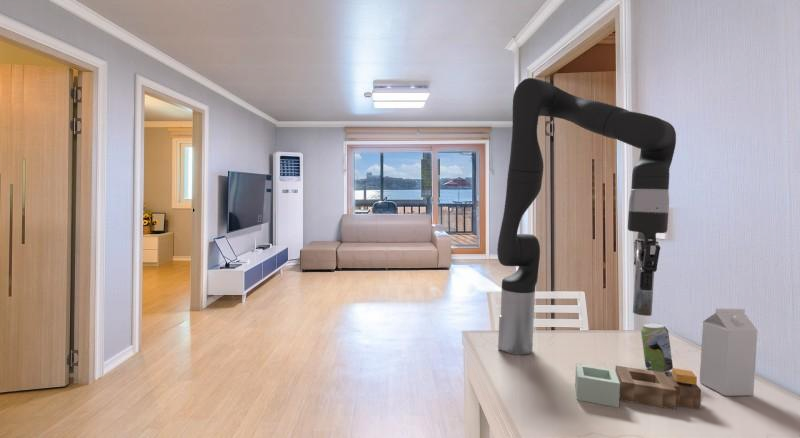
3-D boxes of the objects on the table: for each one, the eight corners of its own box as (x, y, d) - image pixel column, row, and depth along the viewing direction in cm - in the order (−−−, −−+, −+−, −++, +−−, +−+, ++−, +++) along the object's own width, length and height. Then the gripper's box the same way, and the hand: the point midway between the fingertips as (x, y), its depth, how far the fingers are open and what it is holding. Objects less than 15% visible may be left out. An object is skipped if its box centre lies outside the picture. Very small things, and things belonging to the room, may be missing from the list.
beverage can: (676, 376, 103) (679, 329, 102) (644, 373, 104) (647, 326, 104) (666, 367, 109) (668, 322, 109) (635, 364, 110) (637, 319, 110)
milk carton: (699, 382, 100) (703, 304, 99) (726, 382, 100) (731, 305, 100) (724, 396, 93) (729, 312, 92) (753, 396, 93) (759, 312, 93)
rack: (576, 399, 88) (577, 376, 88) (575, 384, 96) (576, 363, 96) (618, 407, 86) (619, 383, 85) (613, 391, 93) (614, 369, 93)
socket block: (621, 400, 89) (622, 381, 89) (614, 382, 98) (615, 365, 98) (704, 414, 84) (705, 395, 84) (689, 394, 93) (690, 376, 93)
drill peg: (634, 314, 90) (638, 250, 90) (631, 310, 94) (635, 249, 93) (653, 316, 89) (657, 252, 89) (649, 312, 92) (653, 250, 92)
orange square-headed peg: (675, 400, 88) (676, 374, 88) (670, 393, 92) (672, 368, 91) (695, 403, 87) (696, 377, 87) (690, 396, 90) (691, 370, 90)
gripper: (677, 211, 83) (672, 296, 83) (659, 210, 96) (655, 284, 97) (635, 209, 85) (630, 292, 86) (623, 209, 98) (619, 281, 99)
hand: (643, 287), depth 91 cm, fingers closed on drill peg, 3 cm apart
